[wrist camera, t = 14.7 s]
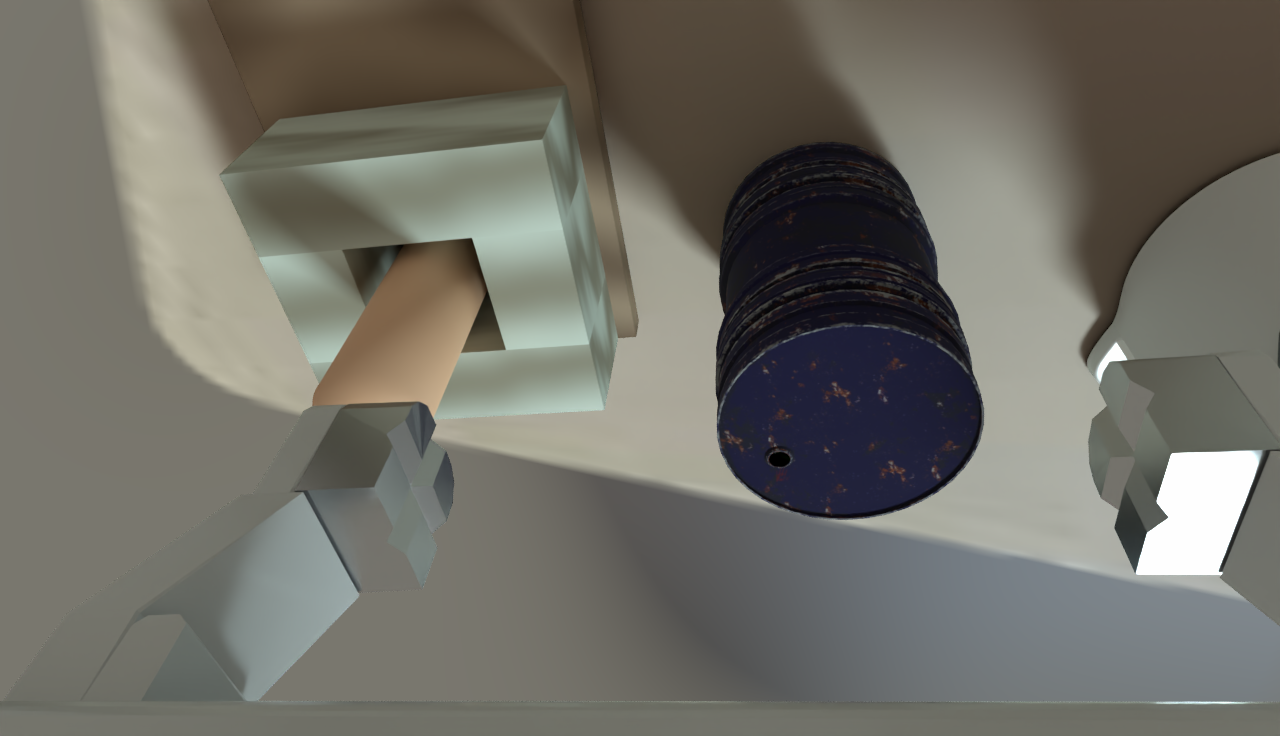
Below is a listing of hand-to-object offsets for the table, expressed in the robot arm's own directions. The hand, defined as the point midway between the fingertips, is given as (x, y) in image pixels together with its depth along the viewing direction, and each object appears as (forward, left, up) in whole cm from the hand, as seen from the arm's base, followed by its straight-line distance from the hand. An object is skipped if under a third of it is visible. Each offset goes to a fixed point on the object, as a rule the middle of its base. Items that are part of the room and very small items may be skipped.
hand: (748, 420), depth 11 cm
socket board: (+2, +17, -31) cm, 35 cm away
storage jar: (-14, +6, -31) cm, 35 cm away
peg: (-2, +20, -30) cm, 36 cm away
